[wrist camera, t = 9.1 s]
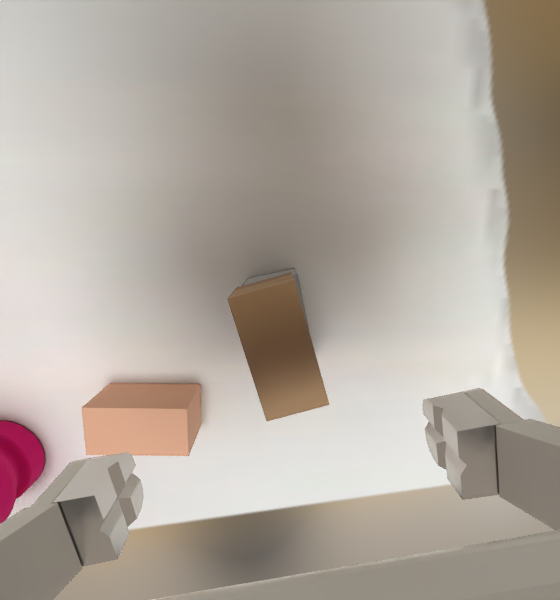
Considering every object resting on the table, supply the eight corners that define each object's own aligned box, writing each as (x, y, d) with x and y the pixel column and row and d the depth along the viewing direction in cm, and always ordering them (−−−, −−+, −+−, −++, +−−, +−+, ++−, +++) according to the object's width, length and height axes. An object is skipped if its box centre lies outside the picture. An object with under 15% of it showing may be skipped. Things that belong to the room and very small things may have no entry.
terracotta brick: (114, 422, 27) (86, 454, 23) (111, 382, 26) (81, 407, 22) (201, 423, 27) (188, 455, 23) (200, 383, 26) (186, 409, 22)
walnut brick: (236, 287, 20) (227, 299, 17) (290, 272, 20) (294, 279, 16) (268, 388, 22) (266, 421, 18) (319, 374, 22) (329, 404, 18)
